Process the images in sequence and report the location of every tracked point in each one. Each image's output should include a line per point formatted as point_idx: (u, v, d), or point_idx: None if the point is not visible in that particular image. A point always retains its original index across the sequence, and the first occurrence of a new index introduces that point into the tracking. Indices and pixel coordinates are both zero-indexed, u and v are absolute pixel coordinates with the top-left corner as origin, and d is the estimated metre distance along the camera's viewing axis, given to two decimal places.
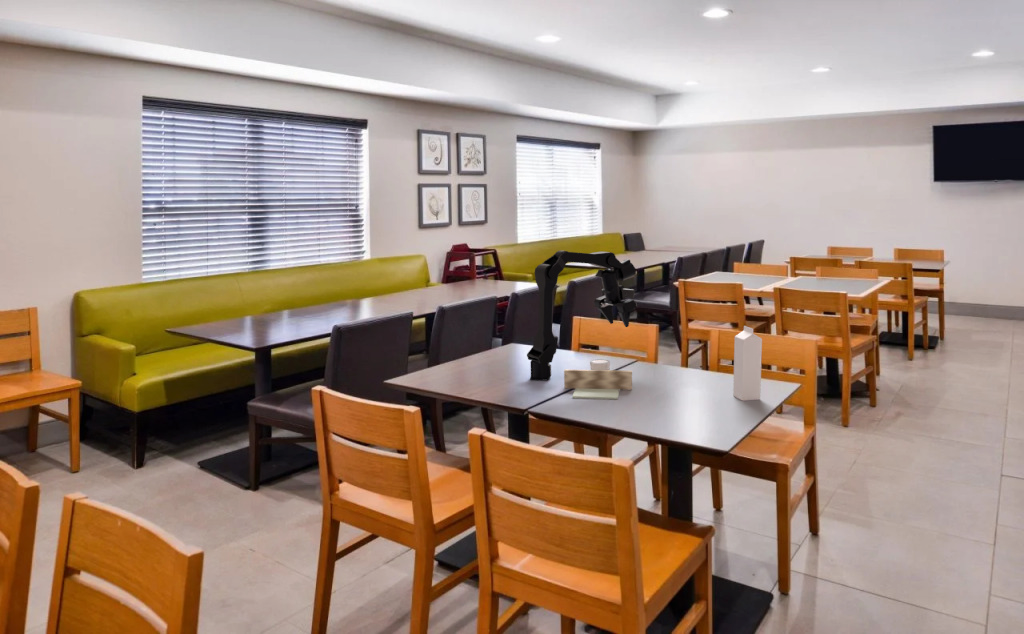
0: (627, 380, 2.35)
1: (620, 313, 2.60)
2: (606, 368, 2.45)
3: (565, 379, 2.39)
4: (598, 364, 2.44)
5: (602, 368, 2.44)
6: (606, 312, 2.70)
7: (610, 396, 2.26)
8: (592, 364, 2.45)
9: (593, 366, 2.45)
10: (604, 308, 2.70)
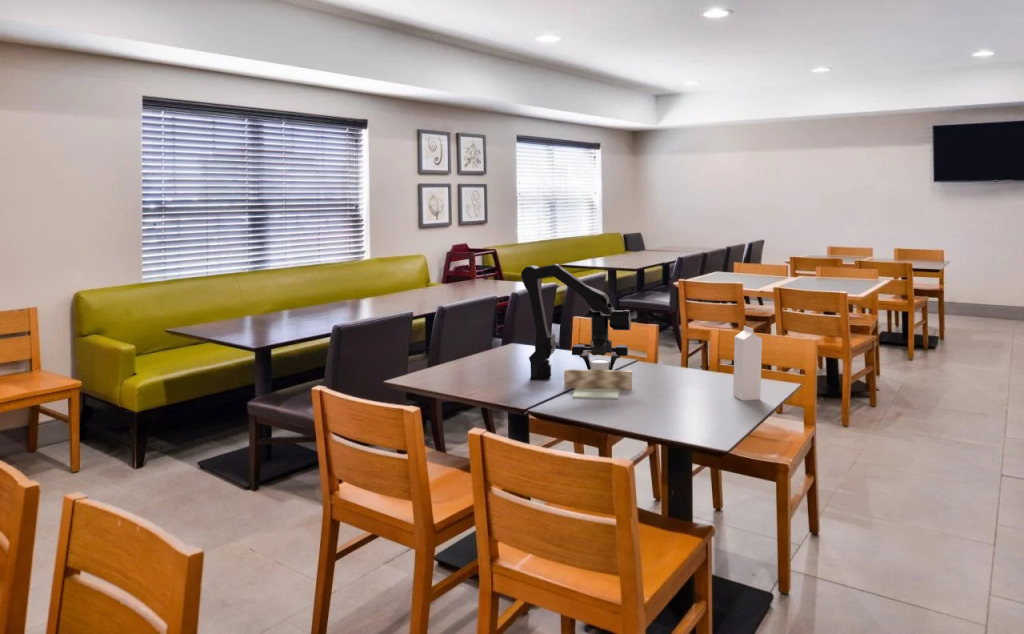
0: (627, 380, 2.35)
1: None
2: (606, 368, 2.45)
3: (565, 379, 2.39)
4: (598, 364, 2.44)
5: (602, 368, 2.44)
6: None
7: (610, 396, 2.26)
8: (592, 364, 2.45)
9: (593, 366, 2.45)
10: None
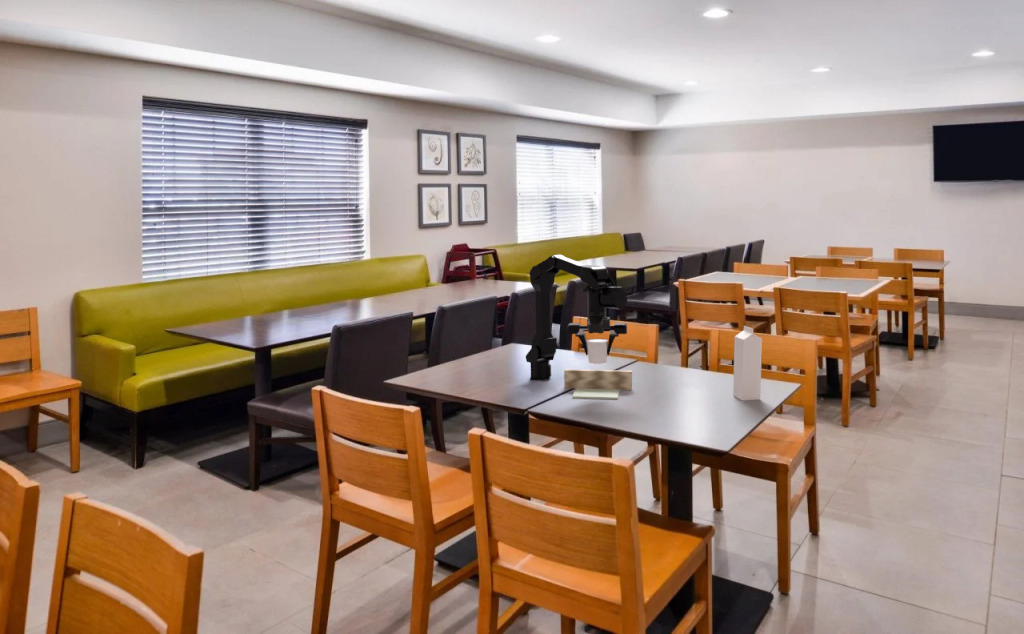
0: (627, 380, 2.35)
1: None
2: (604, 347, 2.28)
3: (565, 379, 2.39)
4: (595, 343, 2.27)
5: (600, 347, 2.28)
6: None
7: (610, 396, 2.26)
8: (589, 343, 2.29)
9: (590, 345, 2.29)
10: None
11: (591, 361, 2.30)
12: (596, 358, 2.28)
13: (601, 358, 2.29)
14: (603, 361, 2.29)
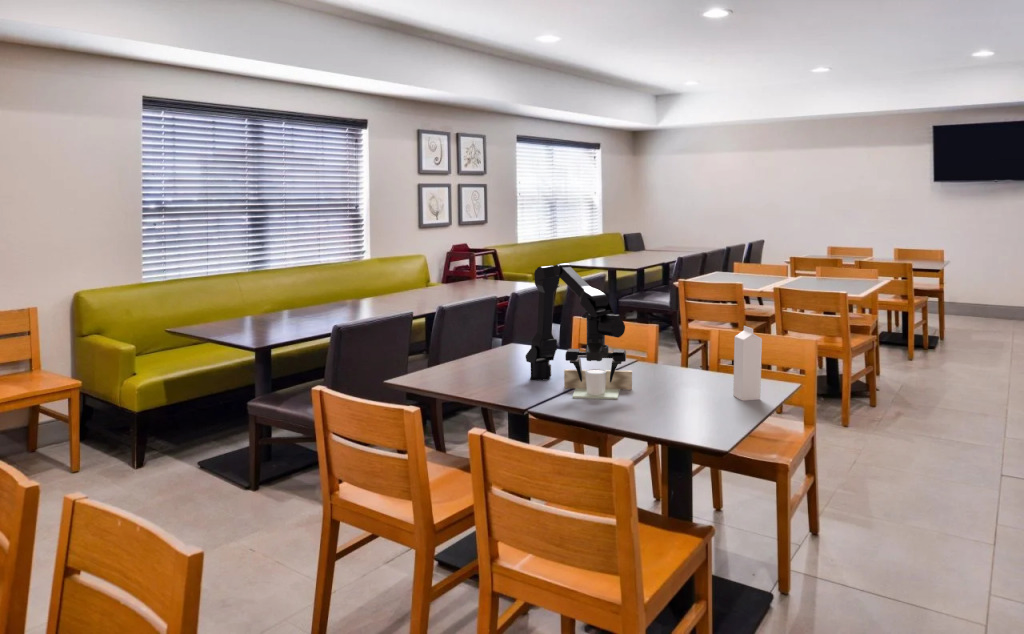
0: (627, 380, 2.35)
1: None
2: (602, 379, 2.27)
3: (565, 379, 2.39)
4: (594, 374, 2.26)
5: (598, 378, 2.27)
6: None
7: (610, 396, 2.26)
8: (587, 374, 2.28)
9: (588, 376, 2.28)
10: None
11: (589, 392, 2.29)
12: (594, 390, 2.27)
13: (599, 389, 2.28)
14: (601, 392, 2.28)
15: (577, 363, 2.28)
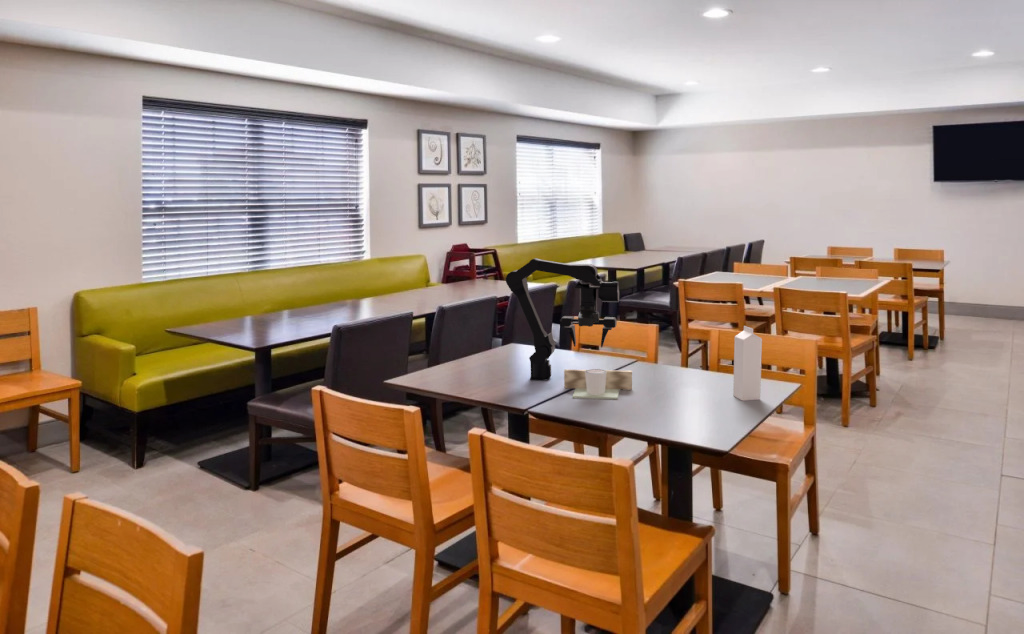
0: (627, 380, 2.35)
1: None
2: (602, 379, 2.27)
3: (565, 379, 2.39)
4: (594, 374, 2.26)
5: (598, 378, 2.27)
6: None
7: (610, 396, 2.26)
8: (587, 374, 2.28)
9: (588, 377, 2.28)
10: None
11: (589, 392, 2.29)
12: (594, 390, 2.27)
13: (599, 389, 2.28)
14: (601, 392, 2.28)
15: (571, 329, 2.46)
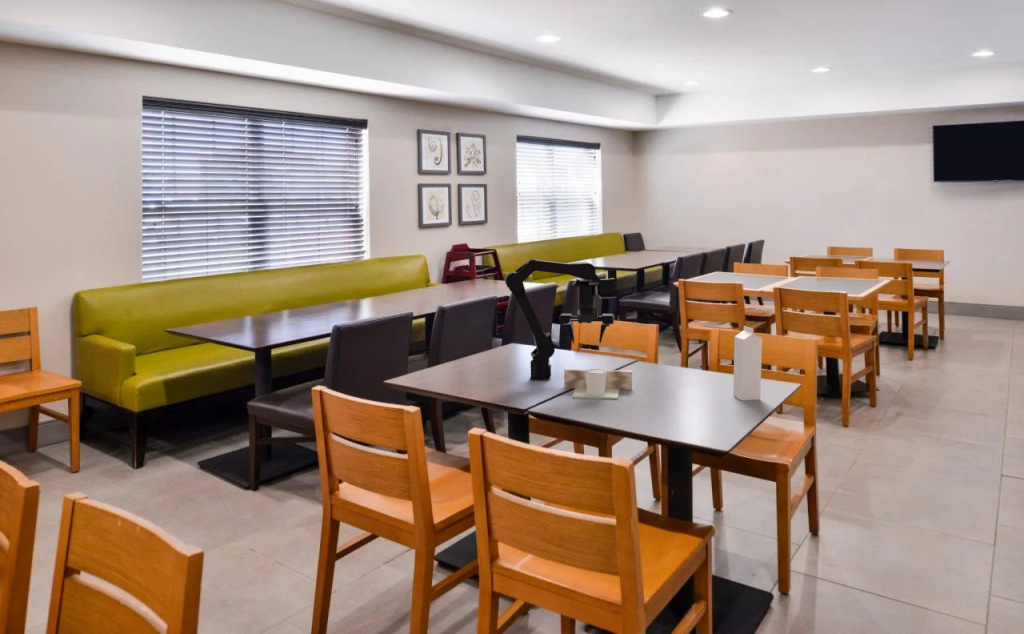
0: (627, 380, 2.35)
1: None
2: (602, 379, 2.27)
3: (565, 379, 2.39)
4: (594, 374, 2.26)
5: (598, 378, 2.27)
6: None
7: (610, 396, 2.26)
8: (587, 374, 2.28)
9: (588, 377, 2.28)
10: None
11: (589, 392, 2.29)
12: (594, 390, 2.27)
13: (599, 389, 2.28)
14: (601, 392, 2.28)
15: (569, 326, 2.51)
